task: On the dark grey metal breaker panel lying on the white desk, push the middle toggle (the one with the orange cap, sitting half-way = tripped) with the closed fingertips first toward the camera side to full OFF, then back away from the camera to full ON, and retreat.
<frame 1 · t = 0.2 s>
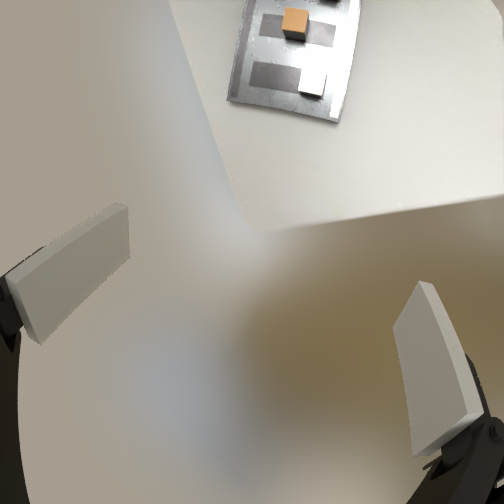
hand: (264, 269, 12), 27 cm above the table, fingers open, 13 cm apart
tripped toggle: (296, 24, 24), point 4 cm above the table, slide at 0.0 cm
panel: (298, 33, 27), on the table
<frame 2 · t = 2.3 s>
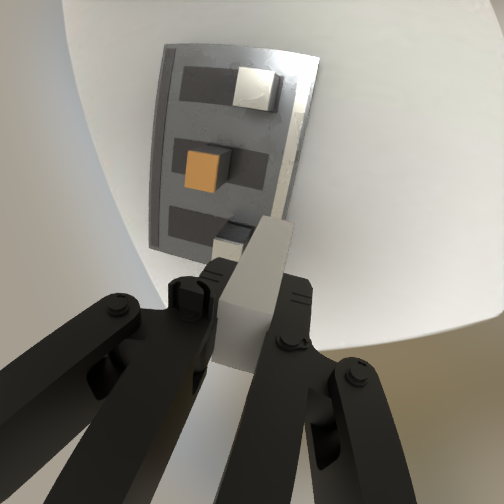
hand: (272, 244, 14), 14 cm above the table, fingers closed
tripped toggle: (208, 167, 23), point 4 cm above the table, slide at 0.0 cm
panel: (224, 158, 26), on the table
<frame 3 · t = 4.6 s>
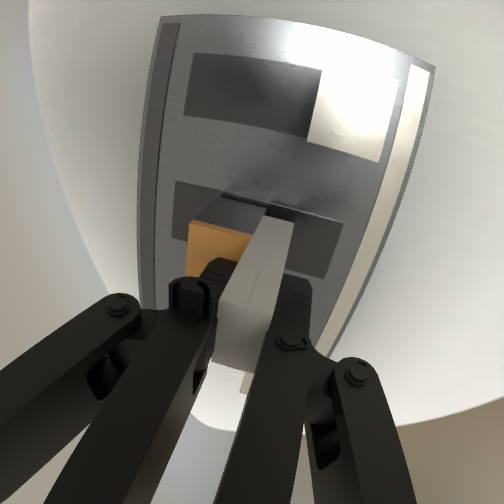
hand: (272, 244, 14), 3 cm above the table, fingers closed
tripped toggle: (227, 244, 13), point 4 cm above the table, slide at -0.7 cm, touching gripper
panel: (258, 216, 17), on the table
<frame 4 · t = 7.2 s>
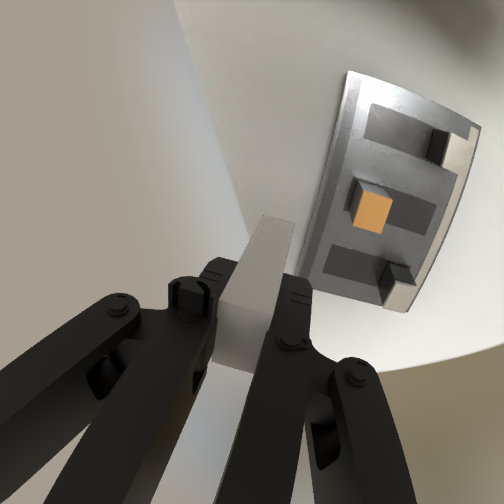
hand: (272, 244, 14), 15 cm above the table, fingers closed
tripped toggle: (369, 205, 22), point 4 cm above the table, slide at -2.8 cm
panel: (387, 200, 26), on the table
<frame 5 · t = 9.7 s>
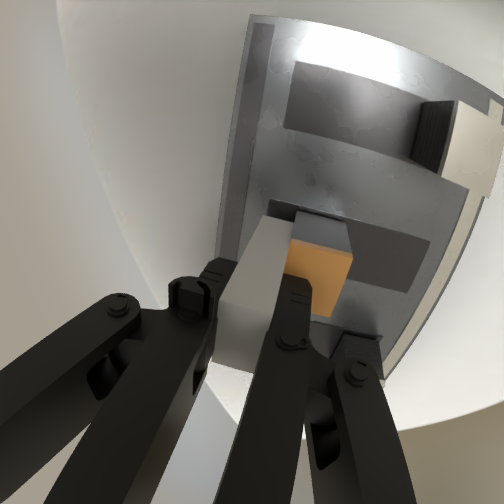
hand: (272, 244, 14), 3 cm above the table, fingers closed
tripped toggle: (313, 260, 13), point 4 cm above the table, slide at -1.8 cm, touching gripper
panel: (344, 233, 16), on the table
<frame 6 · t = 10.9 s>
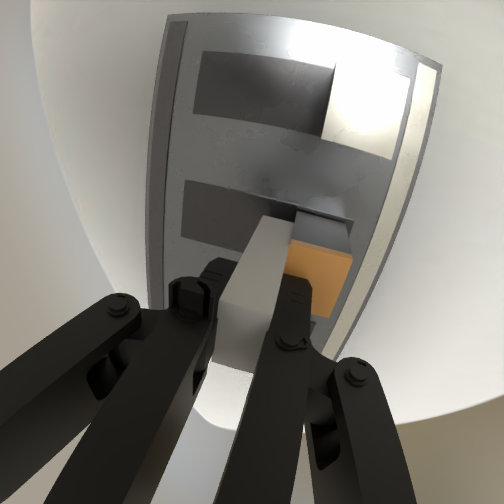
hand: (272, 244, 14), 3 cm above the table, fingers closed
tripped toggle: (312, 261, 13), point 4 cm above the table, slide at 2.8 cm, touching gripper
panel: (268, 214, 17), on the table
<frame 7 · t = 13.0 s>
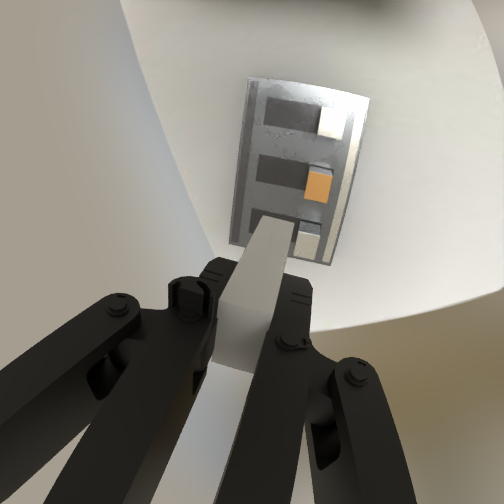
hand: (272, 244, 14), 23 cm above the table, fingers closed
tripped toggle: (318, 183, 30), point 4 cm above the table, slide at 2.8 cm
panel: (295, 171, 34), on the table
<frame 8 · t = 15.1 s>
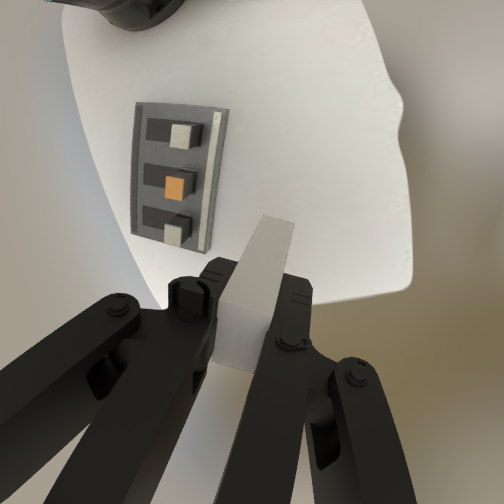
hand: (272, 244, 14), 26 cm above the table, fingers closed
tripped toggle: (179, 185, 37), point 4 cm above the table, slide at 2.8 cm
panel: (175, 175, 41), on the table
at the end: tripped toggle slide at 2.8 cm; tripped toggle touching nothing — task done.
